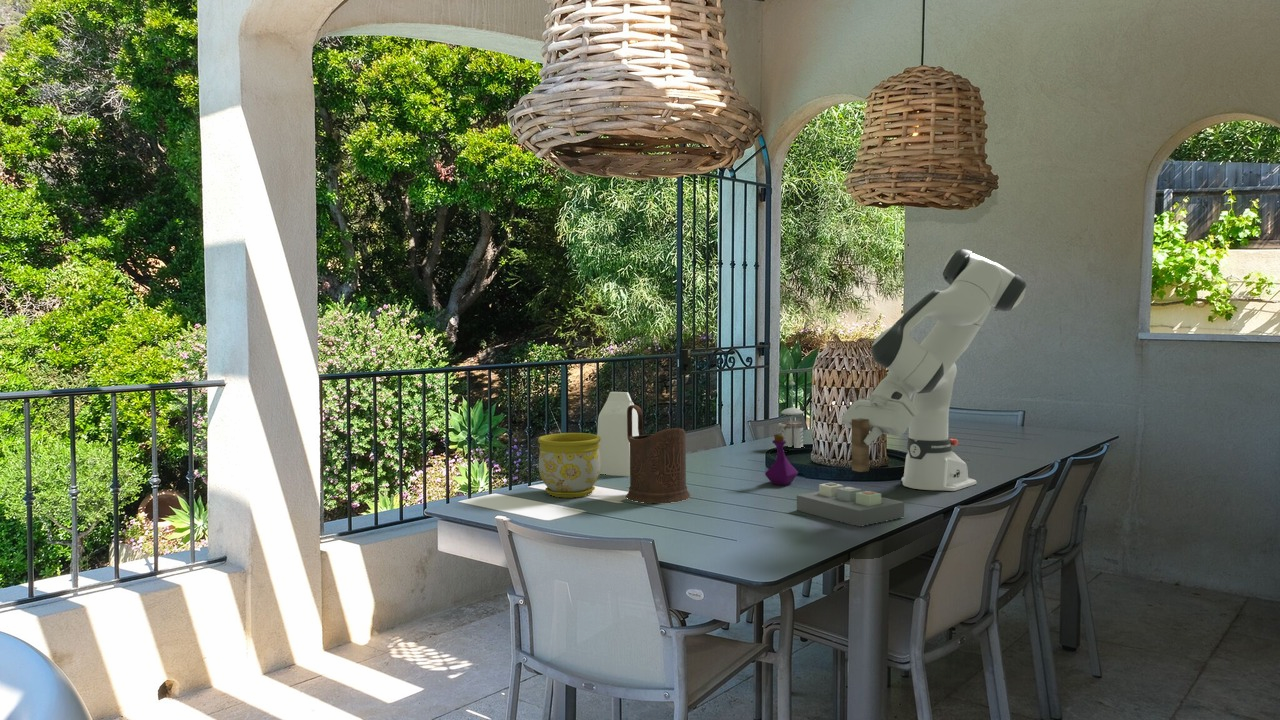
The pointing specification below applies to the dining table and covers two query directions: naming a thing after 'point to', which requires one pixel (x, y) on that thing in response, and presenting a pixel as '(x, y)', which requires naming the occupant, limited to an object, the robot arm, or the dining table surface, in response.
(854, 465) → the brown wooden bar
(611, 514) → the dining table surface
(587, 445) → the flowerpot
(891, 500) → the keypad
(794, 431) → the french press
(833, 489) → the key
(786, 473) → the perfume bottle
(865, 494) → the key
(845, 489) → the key mid
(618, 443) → the milk
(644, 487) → the cup holder
